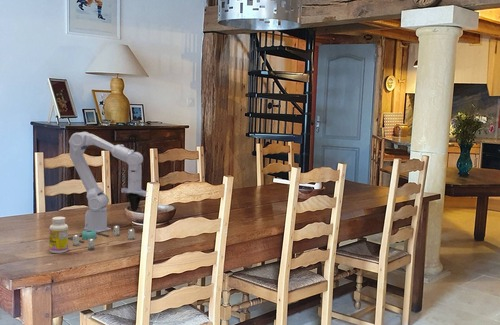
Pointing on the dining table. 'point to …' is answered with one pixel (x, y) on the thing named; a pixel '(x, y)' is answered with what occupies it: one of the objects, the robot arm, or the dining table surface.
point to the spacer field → (92, 241)
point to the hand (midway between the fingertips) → (134, 210)
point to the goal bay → (83, 241)
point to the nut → (88, 234)
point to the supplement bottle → (58, 235)
